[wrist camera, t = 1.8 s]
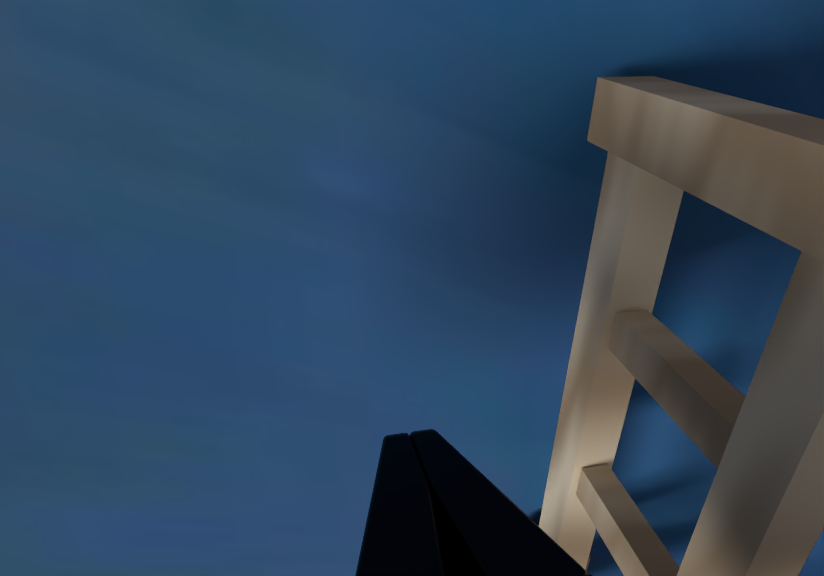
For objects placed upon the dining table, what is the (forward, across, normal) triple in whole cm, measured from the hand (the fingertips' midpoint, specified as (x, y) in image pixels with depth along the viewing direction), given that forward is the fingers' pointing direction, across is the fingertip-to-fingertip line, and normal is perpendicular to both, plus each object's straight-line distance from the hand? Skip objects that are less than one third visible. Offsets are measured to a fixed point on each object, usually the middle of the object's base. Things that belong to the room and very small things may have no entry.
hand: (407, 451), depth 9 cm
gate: (+5, -6, +3) cm, 9 cm away
